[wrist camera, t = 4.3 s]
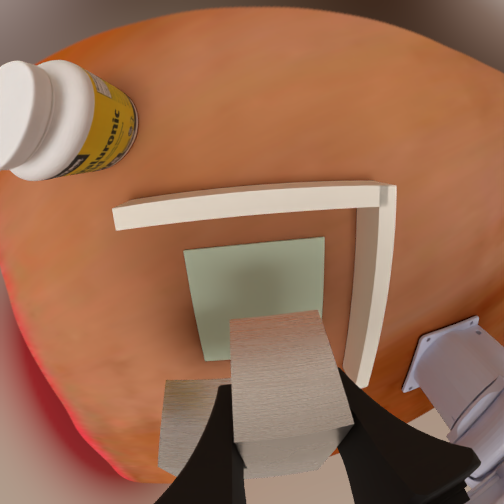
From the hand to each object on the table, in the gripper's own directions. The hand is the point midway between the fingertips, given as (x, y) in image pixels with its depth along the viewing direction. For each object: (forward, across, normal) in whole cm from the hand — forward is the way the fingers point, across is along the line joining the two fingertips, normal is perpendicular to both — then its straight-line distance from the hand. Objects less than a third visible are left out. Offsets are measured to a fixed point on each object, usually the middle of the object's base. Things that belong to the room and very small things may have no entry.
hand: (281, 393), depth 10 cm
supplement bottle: (+9, +9, -12) cm, 18 cm away
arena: (+9, 0, +1) cm, 9 cm away
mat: (+9, 0, +1) cm, 9 cm away
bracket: (+3, +2, +1) cm, 3 cm away
